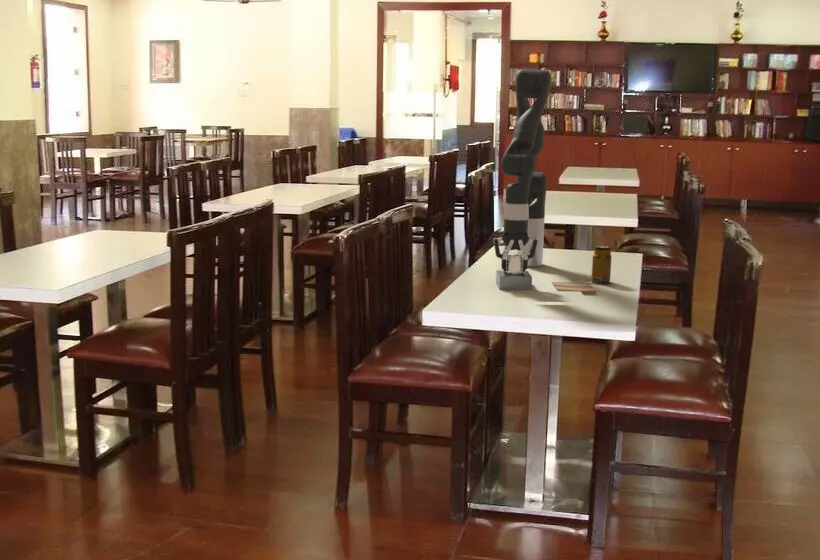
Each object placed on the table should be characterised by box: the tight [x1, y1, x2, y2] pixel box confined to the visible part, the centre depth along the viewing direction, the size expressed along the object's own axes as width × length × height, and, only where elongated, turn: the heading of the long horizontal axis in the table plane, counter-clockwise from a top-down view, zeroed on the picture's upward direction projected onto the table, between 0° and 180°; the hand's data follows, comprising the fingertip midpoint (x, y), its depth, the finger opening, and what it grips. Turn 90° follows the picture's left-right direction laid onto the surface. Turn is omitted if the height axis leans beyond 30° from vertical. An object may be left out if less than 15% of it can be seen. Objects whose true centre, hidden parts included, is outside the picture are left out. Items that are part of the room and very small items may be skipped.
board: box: [551, 281, 597, 295], centre depth 291 cm, size 12×12×1 cm
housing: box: [495, 269, 533, 291], centre depth 290 cm, size 10×10×5 cm
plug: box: [506, 253, 522, 276], centre depth 290 cm, size 5×5×10 cm
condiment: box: [587, 245, 620, 286], centre depth 302 cm, size 7×8×12 cm
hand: (514, 270), depth 290 cm, fingers open, 5 cm apart
